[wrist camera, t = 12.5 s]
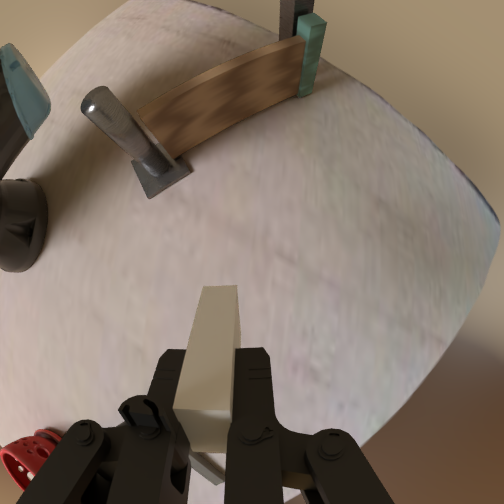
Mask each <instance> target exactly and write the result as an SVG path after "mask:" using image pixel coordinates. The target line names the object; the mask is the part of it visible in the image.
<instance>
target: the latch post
mask: <svg viewBox="0 0 504 504" xmlns="http://www.w3.org/2000/svg"><path fill="white" fill-rule="evenodd" d="M313 6H314V0H280V27H279V41H281V40H284V39H287V38H291V37H294V36H296V35H297V25H298V16H303V15H307V14H311V13H313Z"/></svg>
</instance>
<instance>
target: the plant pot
mask: <svg viewBox="0 0 504 504" xmlns="http://www.w3.org/2000/svg"><path fill="white" fill-rule="evenodd" d="M61 439H62V438H61V437H60V436H58V435H57V434H55V433H53V432H51V431H48V430H44V429H39V430H37V431H36V432H35V433H34V436H29V437H24V438H21V439H19V440H17V441H14V442H12V443H10V444H8V445H6V446H5V447H3V448H2V449H1V451H0V456H1V459H2V462H3V464H4V466H5V468H6V469H7V471H8V473H9V474H10V475H11V477H12V478H13V480H14V481H15V482H16V483H17V485H18V486H19V487H20V488H21V489H22V490H23V491H25V489H26V488H27V486H28V485H29V484H30V482H31V481H30V480H29V479H28V477H27V473H28V472H31V473H32V474H33V476H35V475H36V474H37V472H38V471H39V469H40V468H41V467H42V465H43V464H44V462H45V461H46V460H47V458H48V457H49V455H50V454H51V453H52V451H53V450H54V449H55V447H56V446H57V444H58V443H59V442H60V440H61ZM15 459H16V460H18V461H16V460H15ZM18 466H21V467H22V468H23V471H22V472H20V471H19V470H18Z"/></svg>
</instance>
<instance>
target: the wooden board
mask: <svg viewBox="0 0 504 504" xmlns="http://www.w3.org/2000/svg"><path fill="white" fill-rule="evenodd" d="M326 24H327V22H325V21H324V20H323V19H322V18H320V17H319V16H318V15H317V14H315V13H311V14H307V15H303V16H298V25H297V35H296V36H294V37H291V38H287V39H284V40H281V41H278V42H275V43H272V44H270V45H267V46H264V47H261V48H259V49H256V50H253V51H251V52H248V53H246V54H243V55H241V56H239V57H236V58H234V59H232V60H229V61H227V62H225V63H223V64H220V65H218V66H216V67H214V68H212V69H210V70H208V71H206V72H204V73H202V74H200V75H198V76H196V77H194V78H192V79H190V80H188V81H186V82H184V83H182V84H180V85H179V86H177V87H175V88H173V89H172V90H170V91H168V92H166V93H165V94H163V95H161V96H160V97H158V98H156V99H155V100H153V101H151V102H150V103H148V104H147V105H145V106H143V107H142V108H140V109H139V110H137V112H138V114H139V116H140V118H141V120H142V121H143V122H144V124H145V125H146V126H147V127H148V129H149V130H150V131H151V132H152V134H153V135H154V136H155V137H156V139H157V140H158V141H159V142H160V144H161V145H162V146H163V147H164V149H165V150H166V151H167V152H168V154H169V155H170V156H171V157H172V159H175V158H176V157H178V156H179V155H181V154H183V153H184V152H186V151H187V150H189V149H191V148H192V147H194V146H196V145H198V144H199V143H201V142H203V141H204V140H206V139H208V138H210V137H211V136H213V135H215V134H217V133H219V132H220V131H222V130H224V129H226V128H228V127H230V126H232V125H233V124H235V123H237V122H239V121H241V120H243V119H245V118H247V117H249V116H251V115H253V114H255V113H257V112H259V111H261V110H263V109H265V108H267V107H270V106H272V105H274V104H276V103H278V102H280V101H283V100H285V99H287V98H289V97H292V96H294V95H297V96H298V97H299V98H300V97H303V96H305V95H307V94H310V93H312V89H313V84H314V80H315V75H316V71H317V66H318V62H319V57H320V53H321V48H322V43H323V39H324V34H325V29H326Z"/></svg>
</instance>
